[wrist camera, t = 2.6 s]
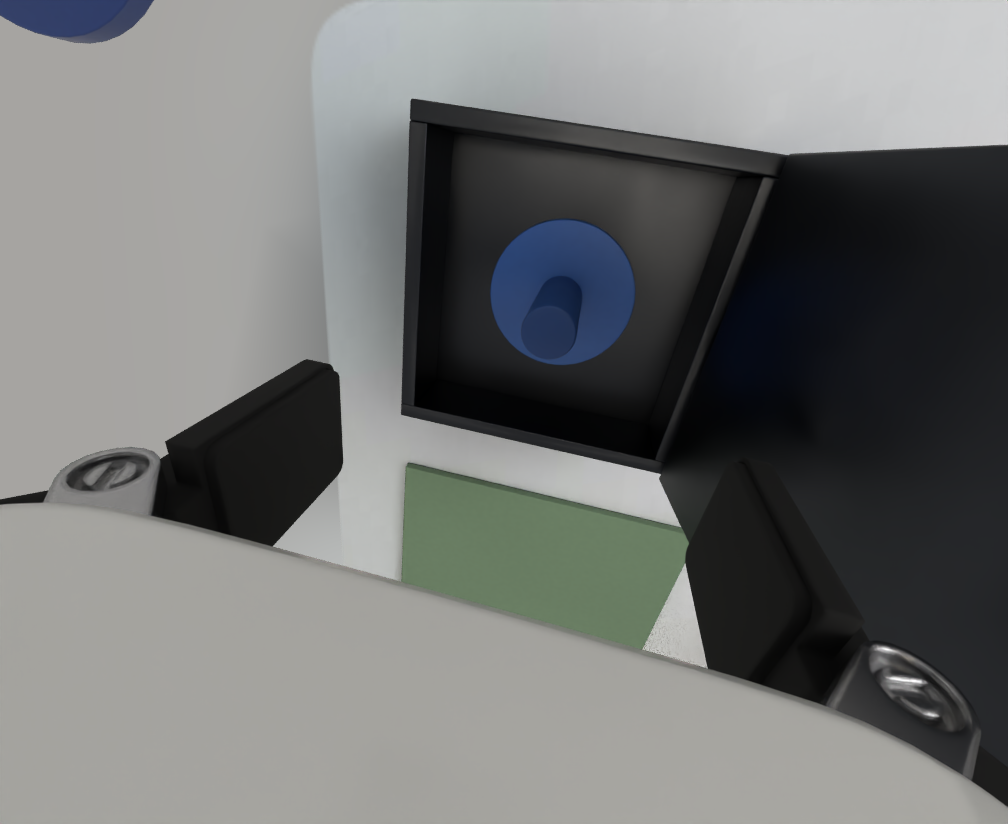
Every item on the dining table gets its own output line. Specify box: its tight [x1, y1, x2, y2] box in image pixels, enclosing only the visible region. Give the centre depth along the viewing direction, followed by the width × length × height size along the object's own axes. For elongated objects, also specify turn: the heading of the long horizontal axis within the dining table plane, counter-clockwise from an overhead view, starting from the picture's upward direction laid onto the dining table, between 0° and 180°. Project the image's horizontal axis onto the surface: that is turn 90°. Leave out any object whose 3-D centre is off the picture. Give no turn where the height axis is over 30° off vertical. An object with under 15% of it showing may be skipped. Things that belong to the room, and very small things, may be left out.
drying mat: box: [401, 463, 689, 649], centre depth 38 cm, size 22×22×1 cm
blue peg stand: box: [490, 218, 635, 365], centre depth 22 cm, size 8×8×7 cm
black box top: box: [659, 145, 1008, 767], centre depth 13 cm, size 16×16×1 cm
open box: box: [401, 99, 789, 474], centre depth 24 cm, size 16×16×5 cm
